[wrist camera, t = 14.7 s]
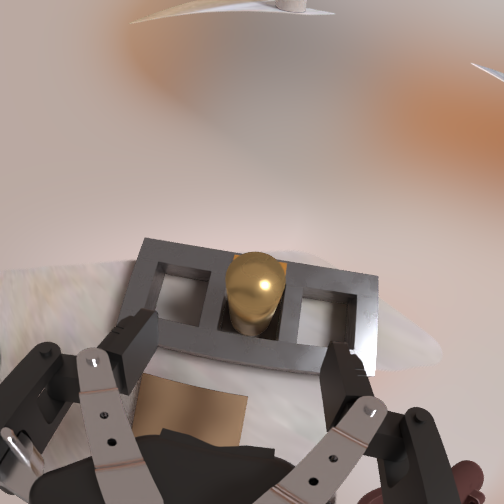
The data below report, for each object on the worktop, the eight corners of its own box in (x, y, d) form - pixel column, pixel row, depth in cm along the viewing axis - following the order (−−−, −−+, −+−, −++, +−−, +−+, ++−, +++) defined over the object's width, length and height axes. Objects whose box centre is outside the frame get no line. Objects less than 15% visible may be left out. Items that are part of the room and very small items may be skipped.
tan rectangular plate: (132, 446, 21) (128, 447, 20) (146, 373, 25) (143, 372, 24) (233, 471, 21) (233, 474, 20) (247, 396, 24) (247, 396, 24)
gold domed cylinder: (226, 331, 27) (219, 301, 18) (234, 293, 29) (232, 247, 20) (267, 339, 27) (280, 313, 18) (274, 301, 29) (289, 257, 20)
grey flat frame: (126, 337, 26) (113, 330, 23) (152, 250, 31) (143, 236, 28) (361, 378, 25) (375, 375, 22) (367, 286, 30) (379, 274, 27)
